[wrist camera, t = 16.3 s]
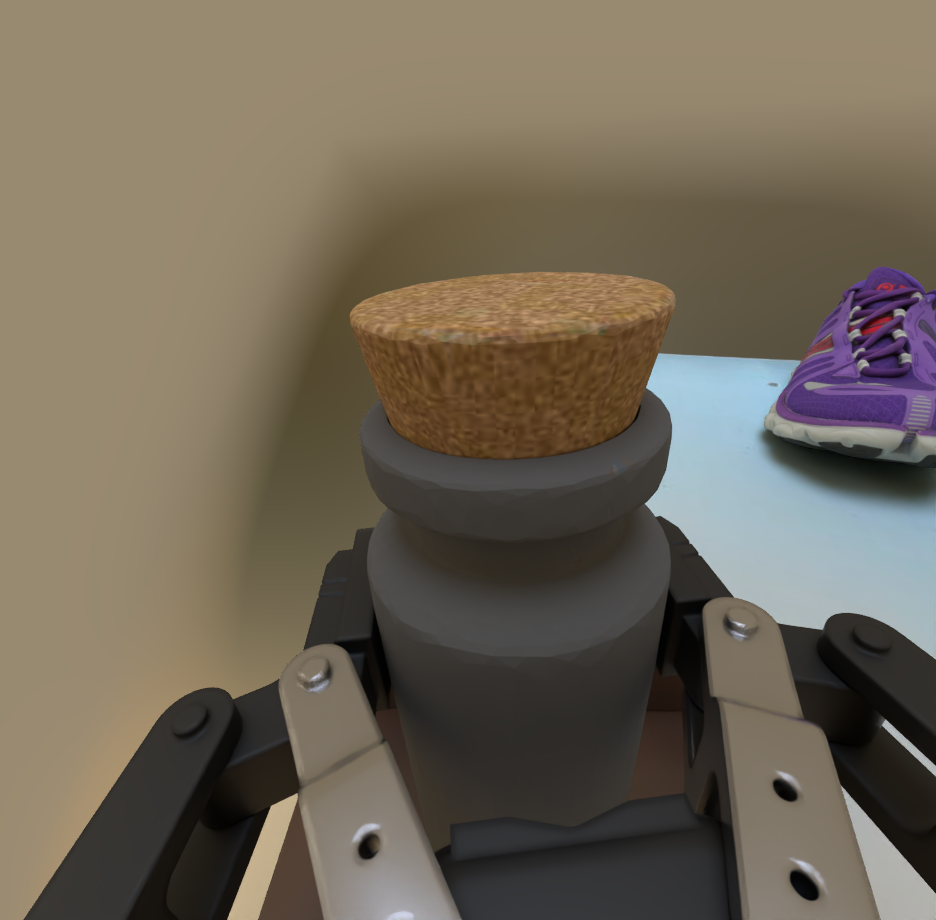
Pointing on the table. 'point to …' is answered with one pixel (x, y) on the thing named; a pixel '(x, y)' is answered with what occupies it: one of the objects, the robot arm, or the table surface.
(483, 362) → the bottle
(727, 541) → the table surface
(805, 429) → the running shoe
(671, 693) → the bench
